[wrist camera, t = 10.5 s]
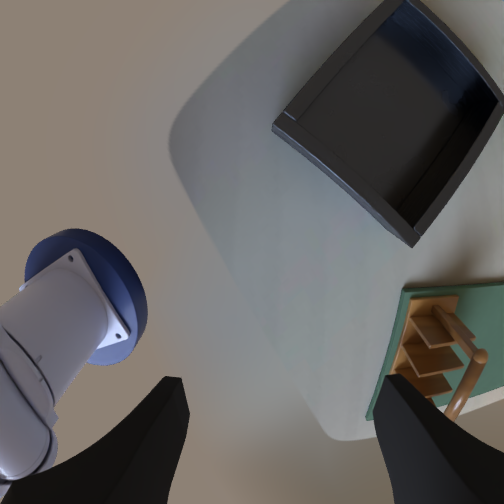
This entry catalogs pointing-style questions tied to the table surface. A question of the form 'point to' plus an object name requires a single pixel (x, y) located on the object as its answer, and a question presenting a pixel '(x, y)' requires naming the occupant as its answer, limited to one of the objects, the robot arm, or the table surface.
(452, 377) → the drying mat
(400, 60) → the open box
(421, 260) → the table surface
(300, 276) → the table surface
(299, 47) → the table surface
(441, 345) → the dish rack
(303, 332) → the table surface
